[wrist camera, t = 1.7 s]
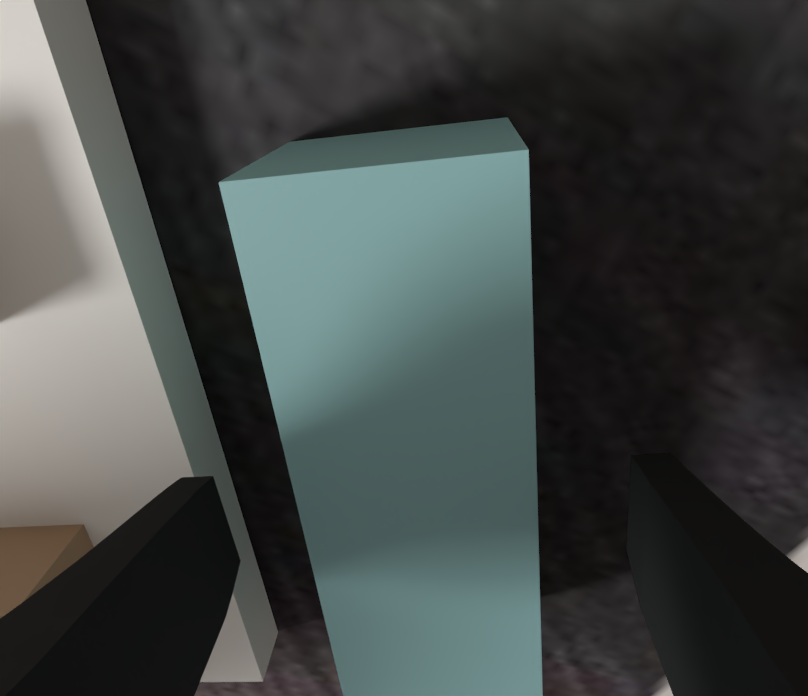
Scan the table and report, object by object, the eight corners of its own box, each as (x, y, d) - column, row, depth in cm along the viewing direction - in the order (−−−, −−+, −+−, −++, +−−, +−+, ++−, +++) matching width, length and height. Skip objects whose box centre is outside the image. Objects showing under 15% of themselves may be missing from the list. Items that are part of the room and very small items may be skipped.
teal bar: (525, 593, 16) (543, 747, 13) (377, 595, 17) (354, 744, 13) (506, 115, 11) (528, 149, 8) (293, 139, 12) (218, 182, 8)
